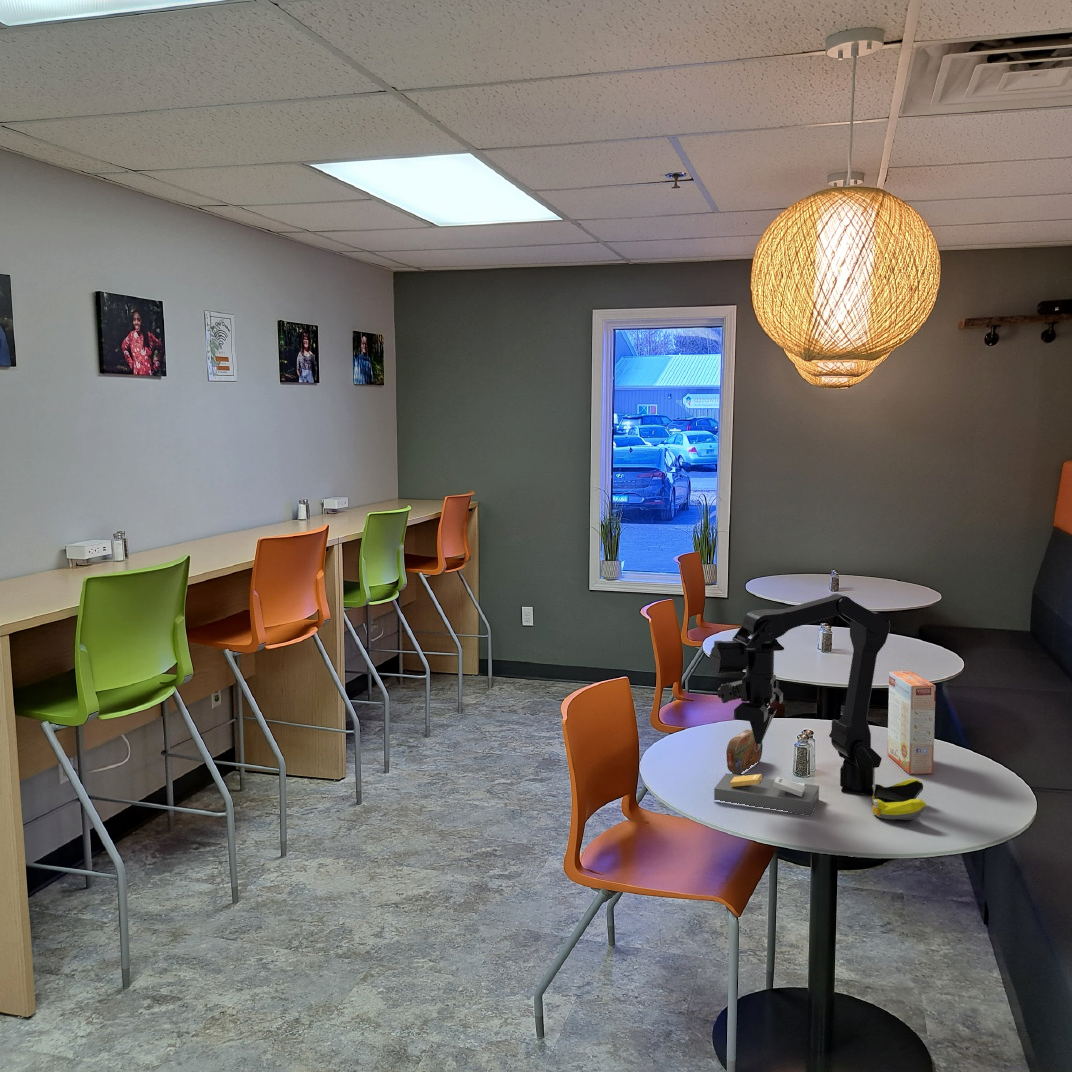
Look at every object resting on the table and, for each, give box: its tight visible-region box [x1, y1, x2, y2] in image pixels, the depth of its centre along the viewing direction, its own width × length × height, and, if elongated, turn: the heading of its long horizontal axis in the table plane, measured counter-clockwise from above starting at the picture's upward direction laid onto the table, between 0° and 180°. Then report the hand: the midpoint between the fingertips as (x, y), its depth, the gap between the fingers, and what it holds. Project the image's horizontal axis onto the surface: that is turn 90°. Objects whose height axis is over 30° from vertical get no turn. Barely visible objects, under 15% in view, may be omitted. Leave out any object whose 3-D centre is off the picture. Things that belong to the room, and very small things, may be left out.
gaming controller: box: [871, 778, 927, 821], centre depth 191 cm, size 15×6×10 cm
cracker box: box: [887, 670, 936, 775], centre depth 218 cm, size 14×6×21 cm, turn 179°
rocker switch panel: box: [713, 773, 820, 817], centre depth 199 cm, size 20×10×4 cm, turn 64°
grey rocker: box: [773, 775, 805, 797], centre depth 195 cm, size 6×4×1 cm, turn 64°
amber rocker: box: [730, 773, 763, 787], centre depth 199 cm, size 6×4×1 cm, turn 65°
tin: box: [726, 729, 763, 775], centre depth 218 cm, size 15×3×8 cm, turn 143°
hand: (758, 743), depth 198 cm, fingers closed
